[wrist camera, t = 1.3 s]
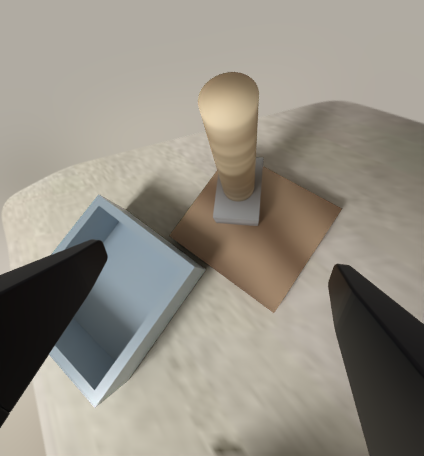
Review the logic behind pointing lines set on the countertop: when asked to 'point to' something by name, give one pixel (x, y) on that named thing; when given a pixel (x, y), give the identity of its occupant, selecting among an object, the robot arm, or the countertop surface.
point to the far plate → (259, 237)
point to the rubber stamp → (233, 146)
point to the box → (121, 299)
